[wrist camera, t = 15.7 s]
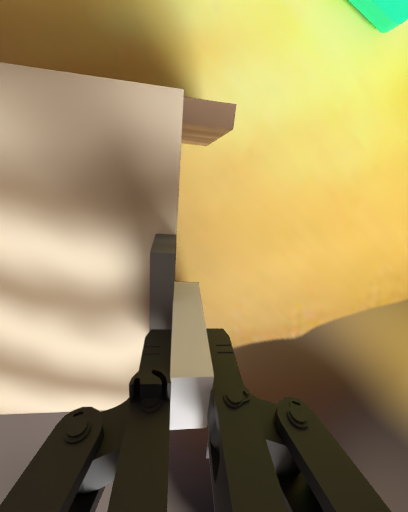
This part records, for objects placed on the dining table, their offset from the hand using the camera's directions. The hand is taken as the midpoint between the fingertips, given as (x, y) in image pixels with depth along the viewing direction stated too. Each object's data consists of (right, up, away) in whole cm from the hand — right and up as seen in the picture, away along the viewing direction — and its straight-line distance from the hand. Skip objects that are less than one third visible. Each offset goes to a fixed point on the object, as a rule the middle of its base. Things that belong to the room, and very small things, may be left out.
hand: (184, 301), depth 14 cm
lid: (-8, +1, +1) cm, 8 cm away
